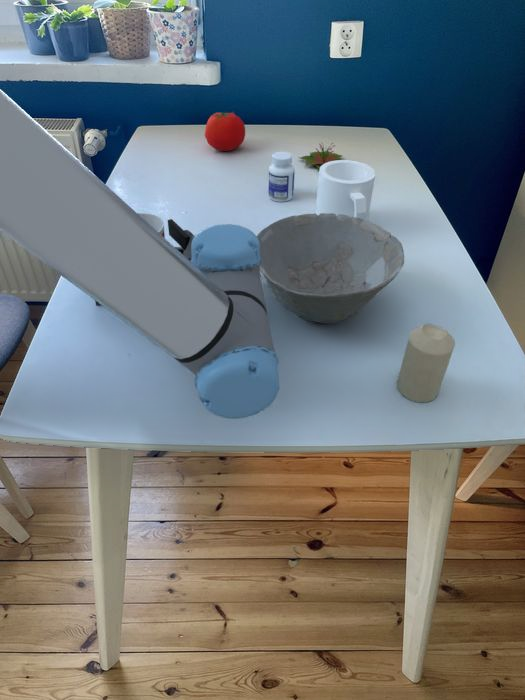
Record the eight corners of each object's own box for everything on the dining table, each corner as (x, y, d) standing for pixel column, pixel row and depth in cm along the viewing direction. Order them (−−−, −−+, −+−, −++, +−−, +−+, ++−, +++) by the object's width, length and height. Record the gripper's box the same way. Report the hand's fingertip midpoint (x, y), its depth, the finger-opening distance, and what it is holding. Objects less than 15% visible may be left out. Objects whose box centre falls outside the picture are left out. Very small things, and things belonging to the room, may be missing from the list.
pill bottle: (279, 188, 116) (280, 147, 110) (298, 196, 114) (300, 154, 108) (263, 197, 113) (263, 155, 107) (282, 205, 111) (284, 162, 105)
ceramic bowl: (233, 335, 80) (232, 279, 73) (272, 255, 96) (274, 204, 89) (384, 364, 75) (397, 308, 69) (398, 275, 92) (409, 223, 85)
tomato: (252, 146, 134) (252, 110, 128) (228, 159, 127) (227, 123, 122) (221, 138, 137) (220, 103, 132) (197, 151, 131) (194, 115, 125)
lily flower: (288, 159, 128) (289, 140, 125) (328, 149, 133) (330, 130, 130) (319, 178, 120) (321, 158, 117) (360, 166, 125) (363, 147, 122)
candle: (441, 380, 73) (461, 323, 67) (434, 408, 69) (453, 350, 63) (402, 368, 75) (416, 311, 68) (392, 395, 71) (407, 337, 64)
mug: (383, 241, 100) (394, 187, 93) (333, 249, 98) (339, 194, 91) (353, 208, 110) (360, 157, 103) (306, 215, 108) (311, 163, 100)
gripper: (110, 358, 71) (60, 280, 84) (268, 299, 81) (201, 237, 94) (99, 313, 66) (48, 237, 79) (269, 256, 76) (199, 197, 89)
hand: (131, 237), depth 87 cm, fingers open, 13 cm apart
